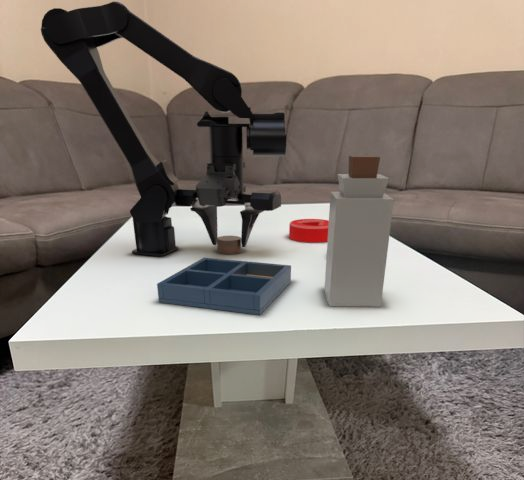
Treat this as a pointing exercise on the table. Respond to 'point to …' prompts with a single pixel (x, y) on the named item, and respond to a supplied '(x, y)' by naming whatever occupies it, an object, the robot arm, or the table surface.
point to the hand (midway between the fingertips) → (229, 245)
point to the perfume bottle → (358, 235)
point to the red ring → (309, 230)
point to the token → (229, 244)
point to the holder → (226, 285)
